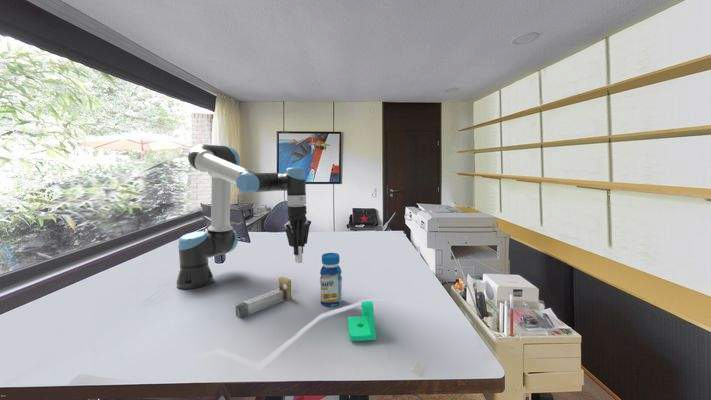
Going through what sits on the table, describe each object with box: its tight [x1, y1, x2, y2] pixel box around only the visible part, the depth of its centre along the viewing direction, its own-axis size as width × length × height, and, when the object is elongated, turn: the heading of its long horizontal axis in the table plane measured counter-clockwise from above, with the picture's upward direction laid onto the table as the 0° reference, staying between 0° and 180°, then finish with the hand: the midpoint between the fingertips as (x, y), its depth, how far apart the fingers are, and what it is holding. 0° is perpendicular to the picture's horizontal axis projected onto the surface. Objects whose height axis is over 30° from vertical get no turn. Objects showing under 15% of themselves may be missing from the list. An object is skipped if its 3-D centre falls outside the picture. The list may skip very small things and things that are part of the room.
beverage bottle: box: [319, 252, 343, 310], centre depth 113 cm, size 8×8×20 cm
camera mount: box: [347, 300, 377, 342], centre depth 94 cm, size 12×8×10 cm, turn 6°
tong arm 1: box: [235, 288, 279, 317], centre depth 110 cm, size 18×2×4 cm, turn 140°
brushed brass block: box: [277, 276, 293, 302], centre depth 117 cm, size 6×2×8 cm, turn 50°
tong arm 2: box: [237, 290, 284, 319], centre depth 109 cm, size 18×2×4 cm, turn 140°
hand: (298, 262), depth 122 cm, fingers closed
